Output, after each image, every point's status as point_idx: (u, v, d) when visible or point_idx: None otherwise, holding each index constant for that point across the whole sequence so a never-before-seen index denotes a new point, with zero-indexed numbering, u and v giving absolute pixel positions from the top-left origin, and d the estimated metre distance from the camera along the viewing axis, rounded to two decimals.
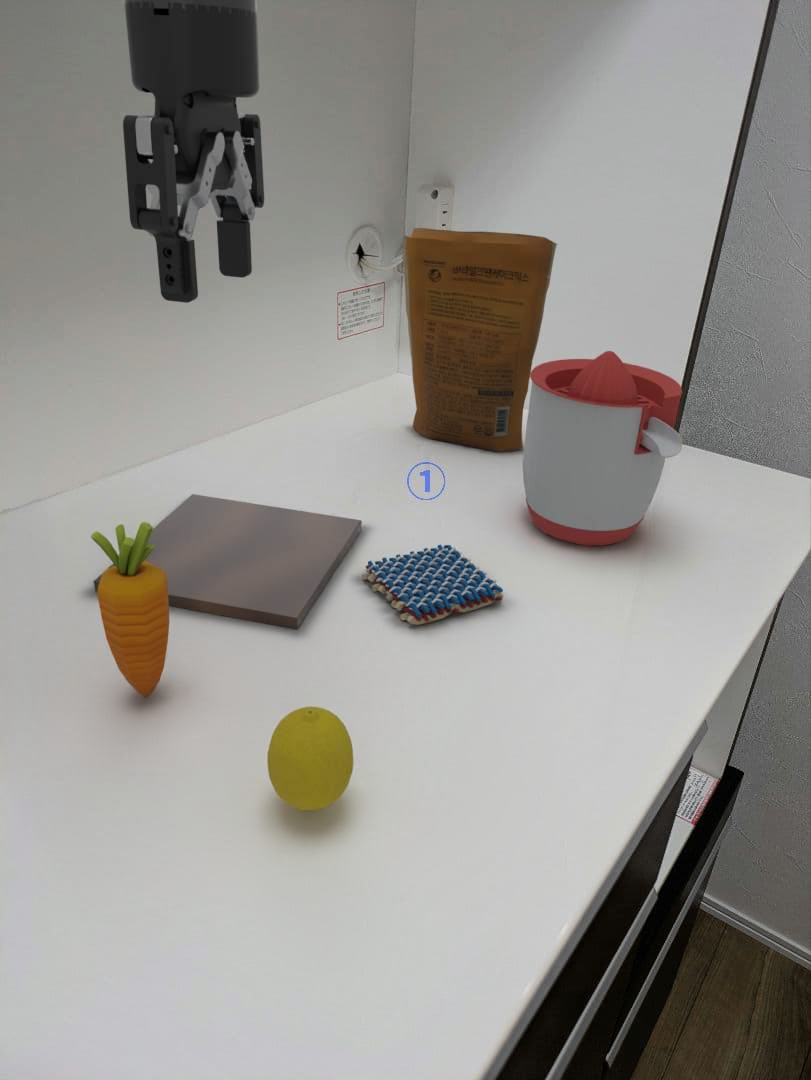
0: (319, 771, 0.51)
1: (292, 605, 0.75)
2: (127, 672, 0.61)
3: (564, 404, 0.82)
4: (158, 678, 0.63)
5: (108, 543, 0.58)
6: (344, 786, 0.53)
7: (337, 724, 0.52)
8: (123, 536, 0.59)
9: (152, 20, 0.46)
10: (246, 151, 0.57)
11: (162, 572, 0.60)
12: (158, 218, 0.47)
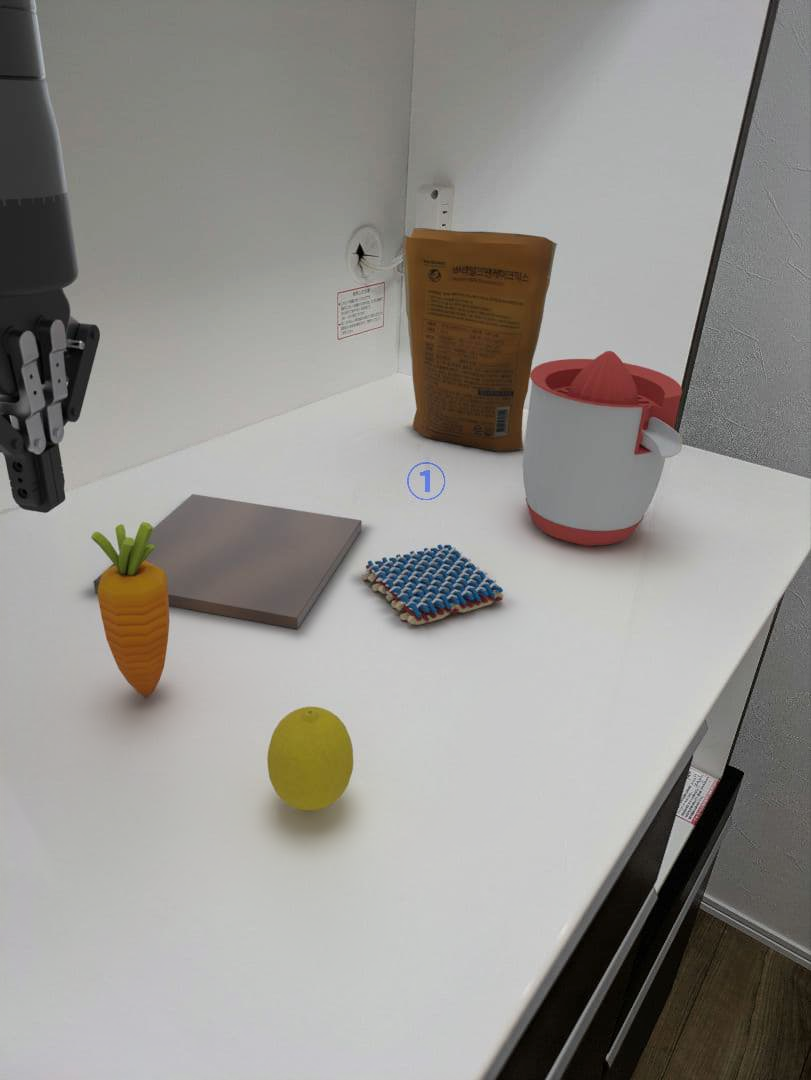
0: (319, 771, 0.51)
1: (292, 605, 0.75)
2: (127, 672, 0.61)
3: (564, 404, 0.82)
4: (158, 678, 0.63)
5: (108, 543, 0.58)
6: (344, 786, 0.53)
7: (337, 724, 0.52)
8: (123, 536, 0.59)
9: None
10: (72, 356, 0.48)
11: (162, 572, 0.60)
12: None
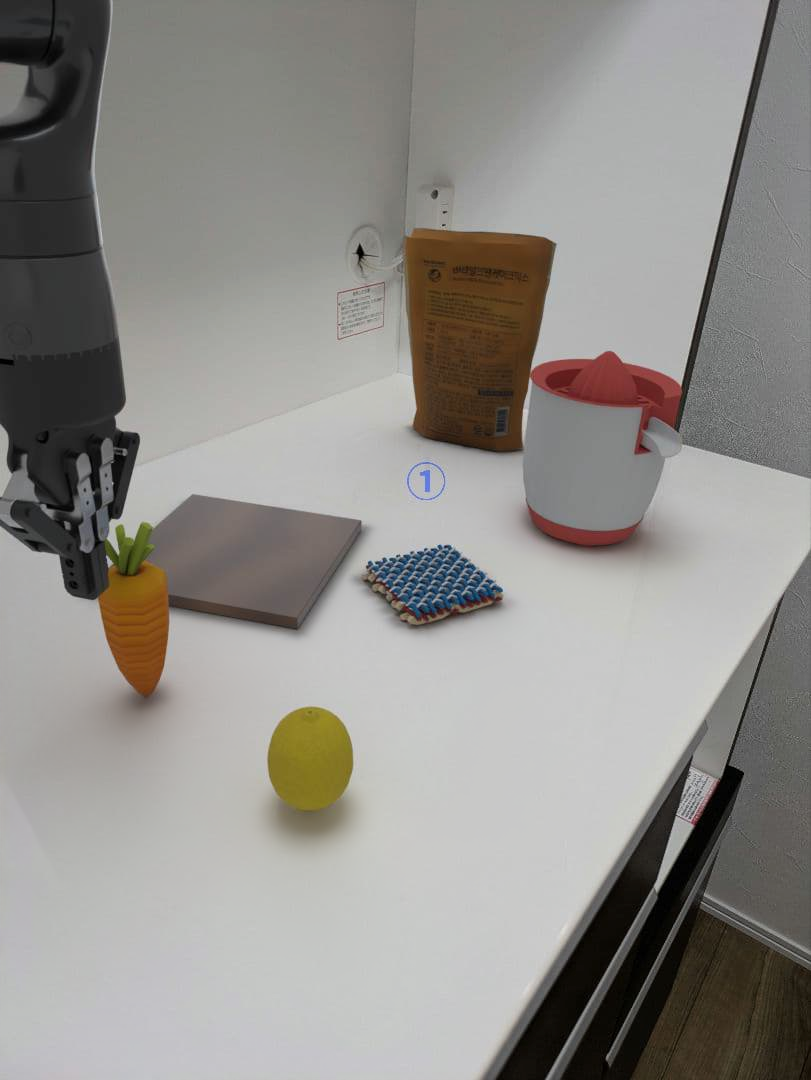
0: (319, 771, 0.51)
1: (292, 605, 0.75)
2: (127, 672, 0.61)
3: (564, 404, 0.82)
4: (158, 678, 0.63)
5: (108, 543, 0.58)
6: (344, 786, 0.53)
7: (337, 724, 0.52)
8: (123, 536, 0.59)
9: None
10: (116, 461, 0.54)
11: (161, 572, 0.60)
12: (57, 553, 0.49)
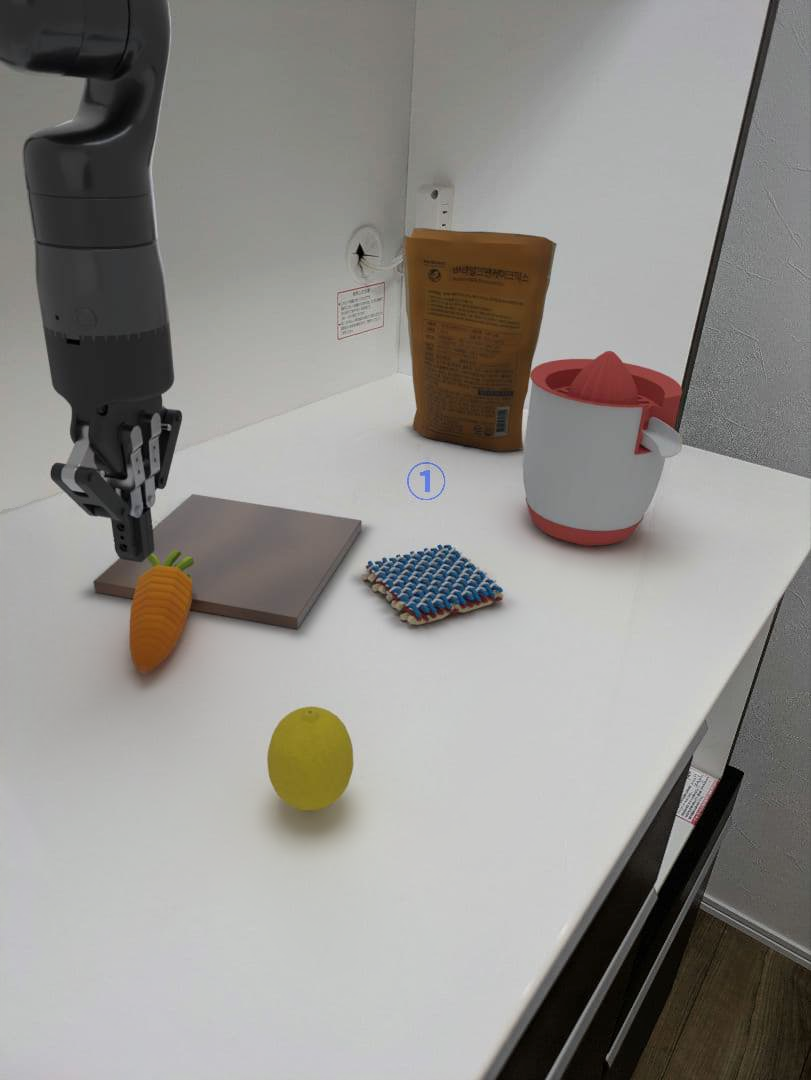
0: (319, 771, 0.51)
1: (292, 605, 0.75)
2: (140, 627, 0.66)
3: (564, 404, 0.82)
4: (162, 648, 0.66)
5: (159, 560, 0.75)
6: (344, 786, 0.53)
7: (337, 724, 0.52)
8: None
9: (65, 347, 0.49)
10: (161, 436, 0.59)
11: None
12: (111, 517, 0.55)
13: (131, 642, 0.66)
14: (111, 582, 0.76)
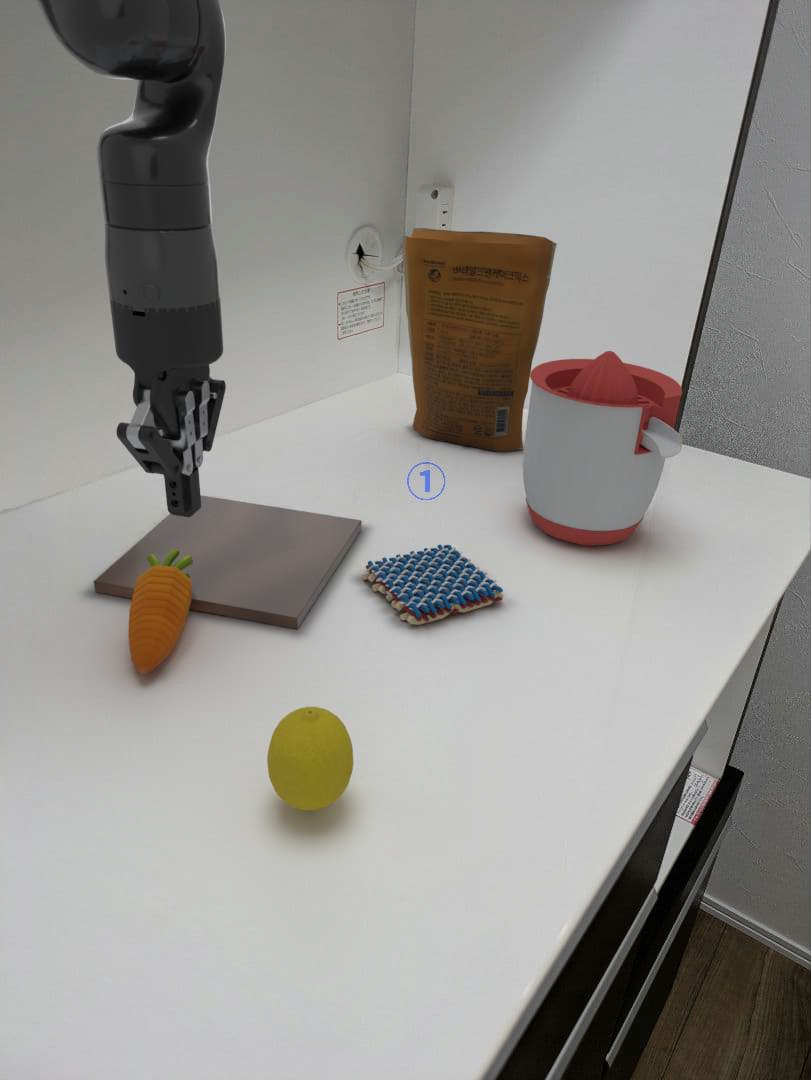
0: (319, 771, 0.51)
1: (292, 605, 0.75)
2: (138, 627, 0.66)
3: (564, 404, 0.82)
4: (161, 649, 0.66)
5: (157, 560, 0.75)
6: (344, 786, 0.53)
7: (337, 724, 0.52)
8: None
9: (131, 319, 0.55)
10: (207, 403, 0.66)
11: None
12: (166, 473, 0.61)
13: (130, 643, 0.66)
14: (111, 582, 0.76)
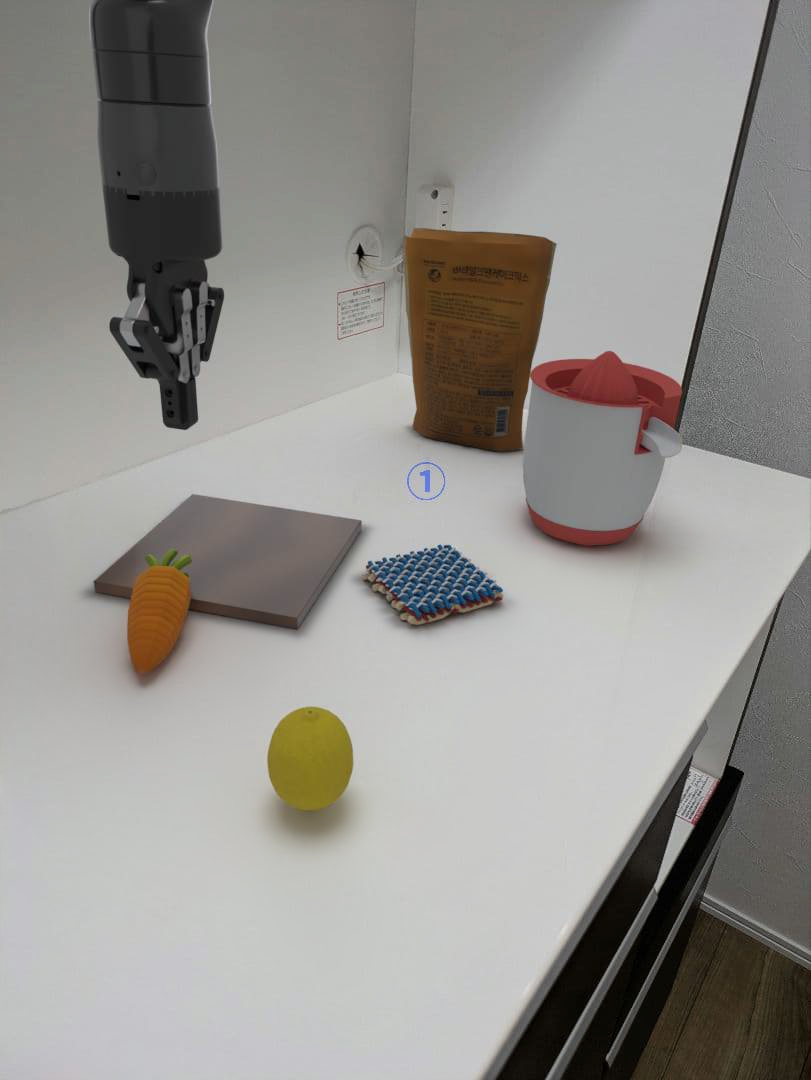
0: (319, 771, 0.51)
1: (292, 605, 0.75)
2: (136, 628, 0.66)
3: (564, 404, 0.82)
4: (160, 649, 0.66)
5: (156, 560, 0.75)
6: (344, 786, 0.53)
7: (337, 724, 0.52)
8: None
9: (125, 203, 0.52)
10: (205, 311, 0.63)
11: None
12: (162, 377, 0.58)
13: (129, 644, 0.66)
14: (111, 582, 0.76)
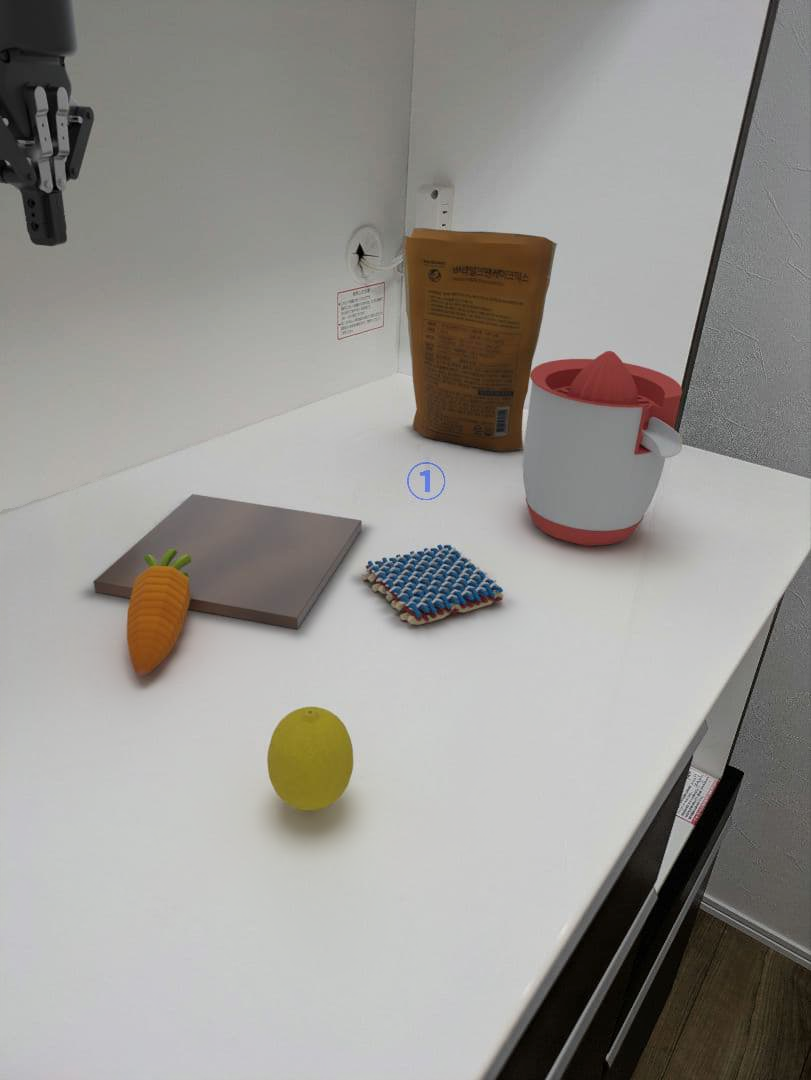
0: (319, 771, 0.51)
1: (292, 605, 0.75)
2: (136, 629, 0.66)
3: (564, 404, 0.82)
4: (160, 649, 0.66)
5: (155, 561, 0.75)
6: (344, 786, 0.53)
7: (337, 724, 0.52)
8: None
9: None
10: (72, 128, 0.63)
11: None
12: (19, 180, 0.58)
13: (129, 645, 0.66)
14: (111, 582, 0.76)
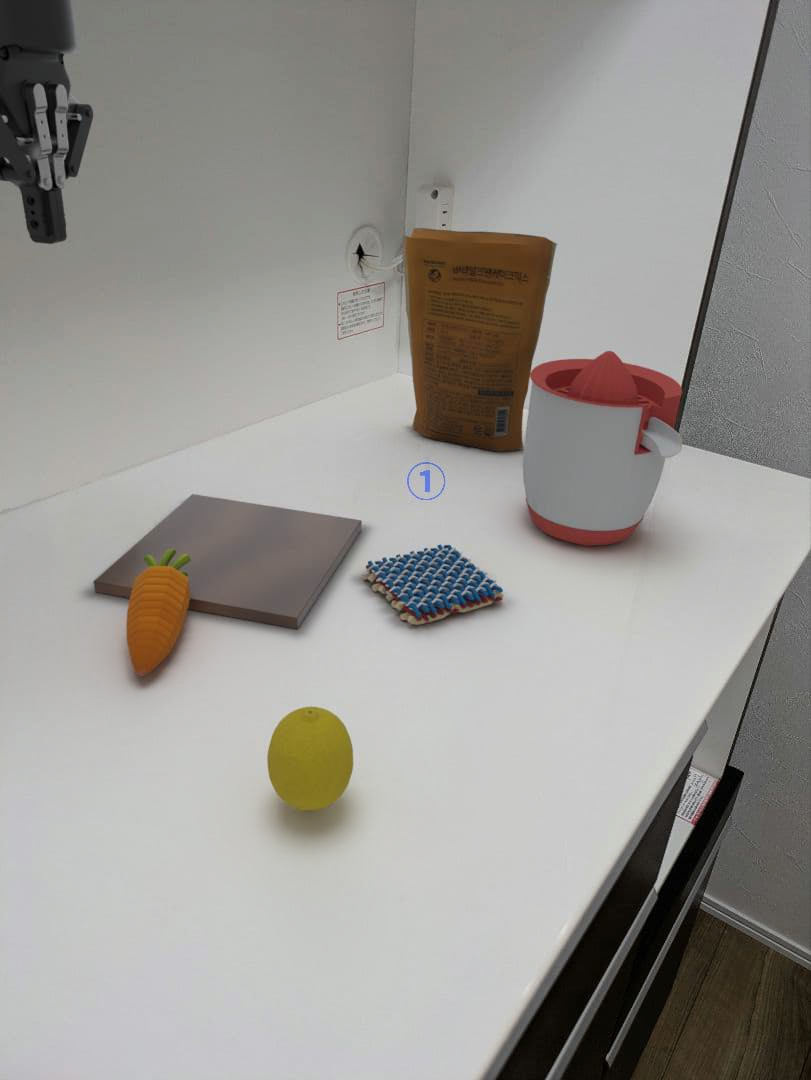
0: (319, 771, 0.51)
1: (292, 605, 0.75)
2: (135, 629, 0.66)
3: (564, 404, 0.82)
4: (159, 649, 0.66)
5: (155, 561, 0.75)
6: (344, 786, 0.53)
7: (337, 724, 0.52)
8: None
9: None
10: (71, 126, 0.63)
11: None
12: (18, 177, 0.58)
13: (128, 645, 0.66)
14: (111, 582, 0.76)
